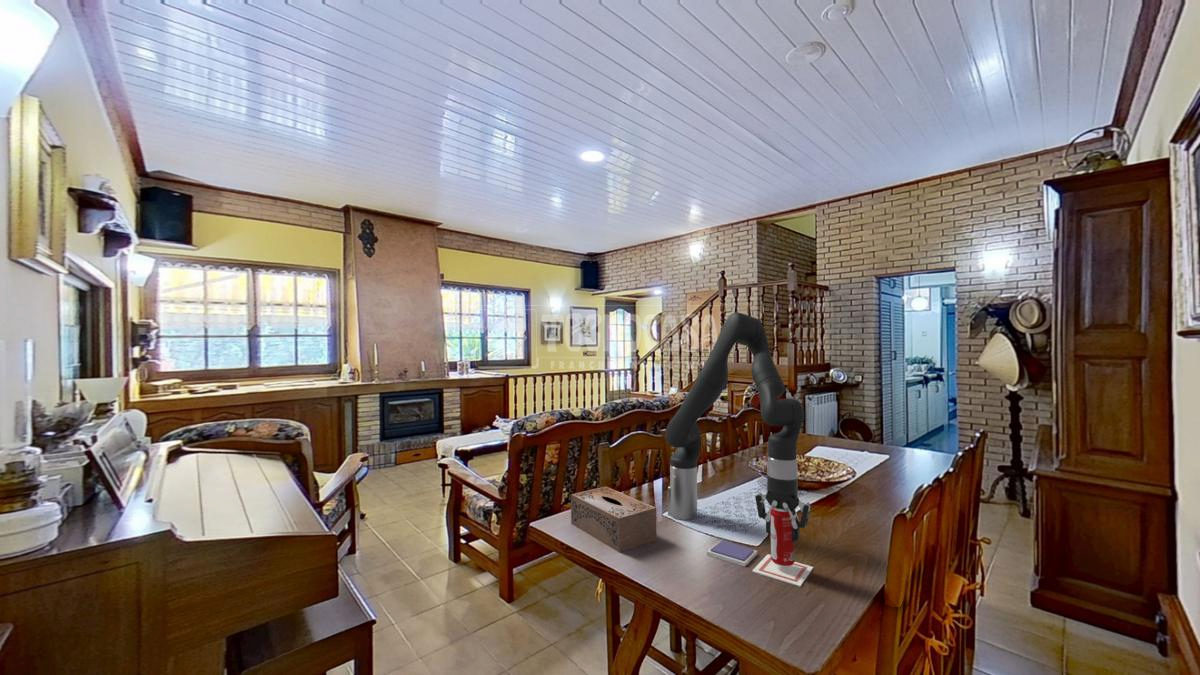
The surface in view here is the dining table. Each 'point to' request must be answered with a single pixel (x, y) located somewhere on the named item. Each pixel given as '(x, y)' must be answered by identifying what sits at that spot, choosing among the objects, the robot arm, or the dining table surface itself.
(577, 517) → the tissue box cover
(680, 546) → the dining table surface
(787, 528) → the beverage can
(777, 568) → the marked card
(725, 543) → the ink pad
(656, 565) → the dining table surface
